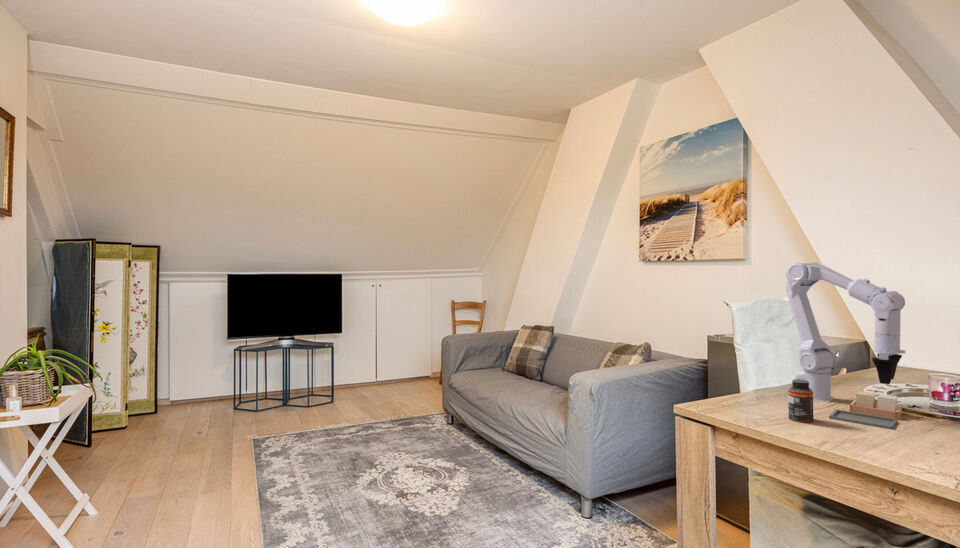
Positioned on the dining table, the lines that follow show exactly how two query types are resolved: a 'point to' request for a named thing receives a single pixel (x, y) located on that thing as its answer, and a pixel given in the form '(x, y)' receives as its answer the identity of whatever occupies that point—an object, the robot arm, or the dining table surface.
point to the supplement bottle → (800, 402)
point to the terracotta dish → (876, 411)
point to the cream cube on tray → (887, 402)
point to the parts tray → (863, 419)
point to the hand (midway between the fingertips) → (886, 381)
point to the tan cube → (865, 399)
